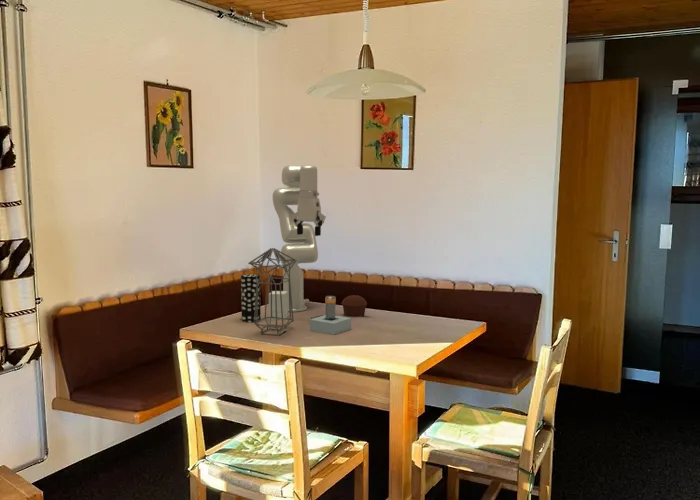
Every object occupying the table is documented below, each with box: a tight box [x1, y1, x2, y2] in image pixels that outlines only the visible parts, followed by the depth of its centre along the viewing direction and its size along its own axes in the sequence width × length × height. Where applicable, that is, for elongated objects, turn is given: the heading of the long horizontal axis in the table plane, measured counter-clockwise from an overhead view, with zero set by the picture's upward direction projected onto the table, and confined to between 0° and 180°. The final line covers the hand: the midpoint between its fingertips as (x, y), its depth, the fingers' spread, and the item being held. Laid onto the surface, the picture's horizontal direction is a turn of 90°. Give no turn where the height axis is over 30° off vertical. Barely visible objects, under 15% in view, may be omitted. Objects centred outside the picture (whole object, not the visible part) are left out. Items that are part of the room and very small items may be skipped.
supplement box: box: [268, 290, 289, 323], centre depth 286 cm, size 7×7×13 cm
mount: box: [308, 314, 325, 325], centre depth 275 cm, size 10×8×4 cm
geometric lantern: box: [248, 247, 297, 337], centre depth 261 cm, size 16×16×35 cm
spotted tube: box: [240, 273, 262, 323], centre depth 285 cm, size 8×8×20 cm
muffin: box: [341, 294, 368, 318], centre depth 292 cm, size 12×11×10 cm
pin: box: [324, 295, 337, 321], centre depth 262 cm, size 4×4×14 cm
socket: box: [309, 314, 352, 336], centre depth 262 cm, size 12×12×6 cm
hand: (308, 235), depth 277 cm, fingers open, 9 cm apart
